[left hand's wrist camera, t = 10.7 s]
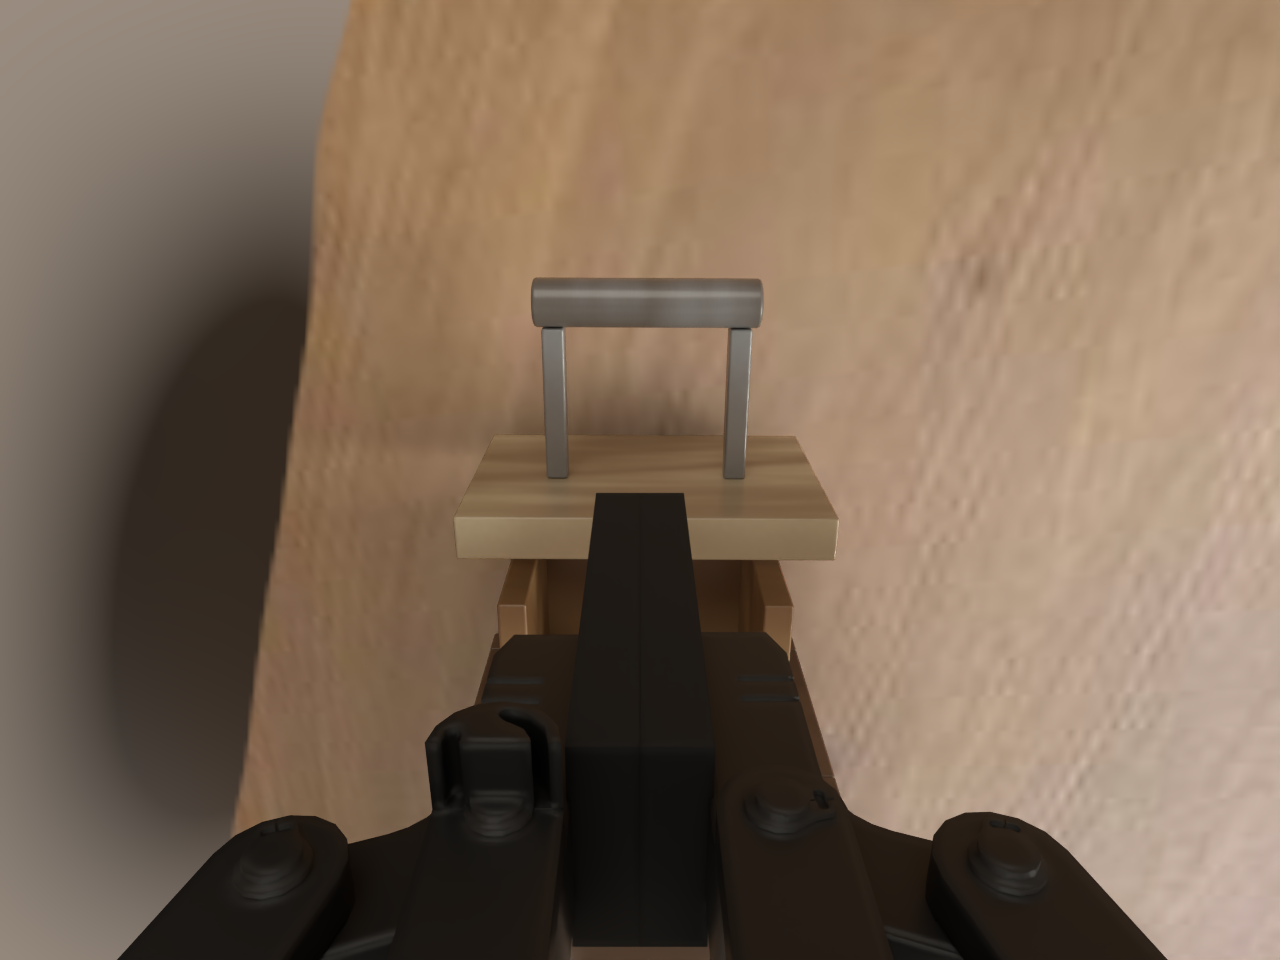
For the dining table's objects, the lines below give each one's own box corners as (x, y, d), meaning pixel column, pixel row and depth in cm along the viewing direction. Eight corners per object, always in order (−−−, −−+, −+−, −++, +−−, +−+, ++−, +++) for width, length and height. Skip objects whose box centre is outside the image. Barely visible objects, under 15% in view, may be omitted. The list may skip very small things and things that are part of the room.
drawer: (483, 259, 26) (434, 296, 20) (809, 261, 26) (862, 298, 20) (516, 807, 33) (488, 957, 27) (767, 808, 33) (796, 958, 27)
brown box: (494, 633, 32) (445, 799, 24) (791, 634, 32) (843, 800, 24) (516, 959, 38) (483, 1178, 30) (764, 959, 38) (798, 1179, 30)
